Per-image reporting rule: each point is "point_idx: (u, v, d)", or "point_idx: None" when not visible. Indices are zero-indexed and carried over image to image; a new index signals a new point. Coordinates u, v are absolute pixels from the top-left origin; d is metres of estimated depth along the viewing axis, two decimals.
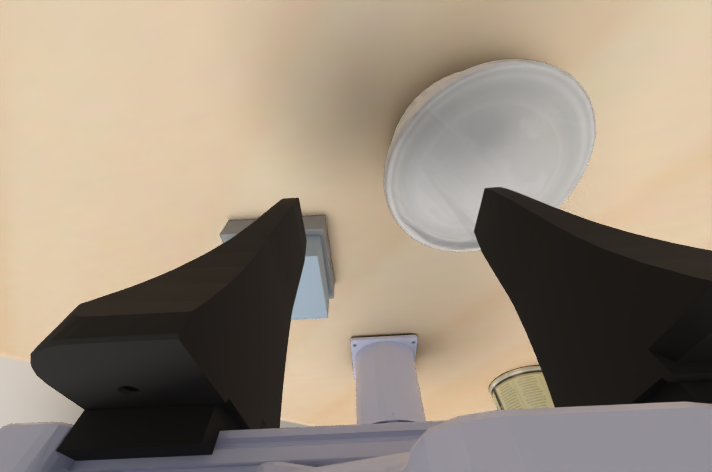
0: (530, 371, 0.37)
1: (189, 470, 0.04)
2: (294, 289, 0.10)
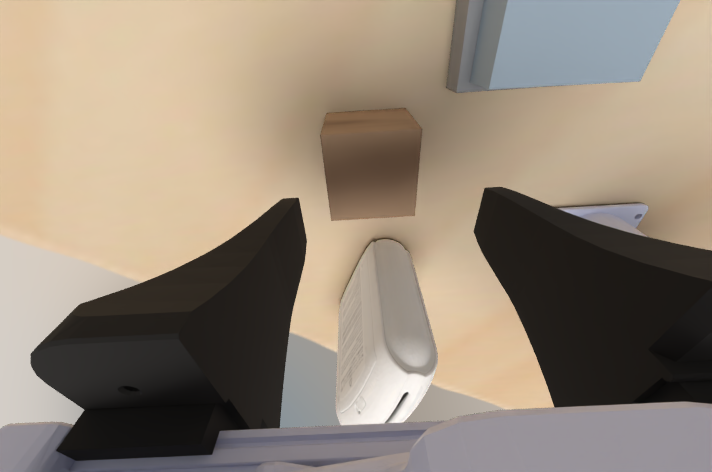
0: None
1: (189, 470, 0.04)
2: (294, 289, 0.10)
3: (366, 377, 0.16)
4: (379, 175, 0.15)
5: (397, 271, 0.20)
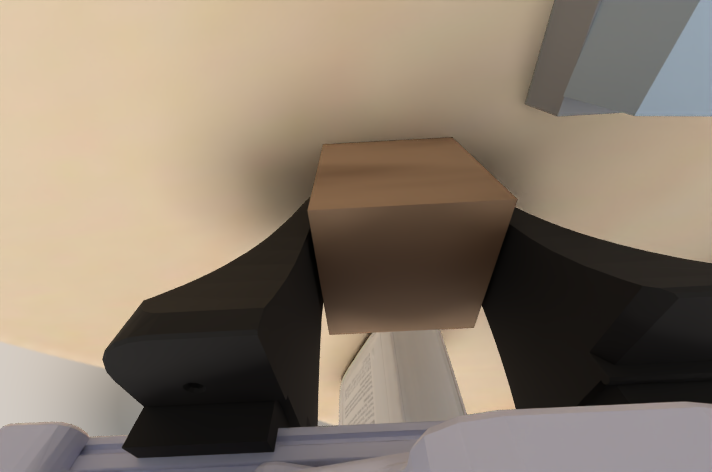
0: None
1: (189, 470, 0.04)
2: None
3: None
4: (421, 273, 0.08)
5: (430, 378, 0.13)
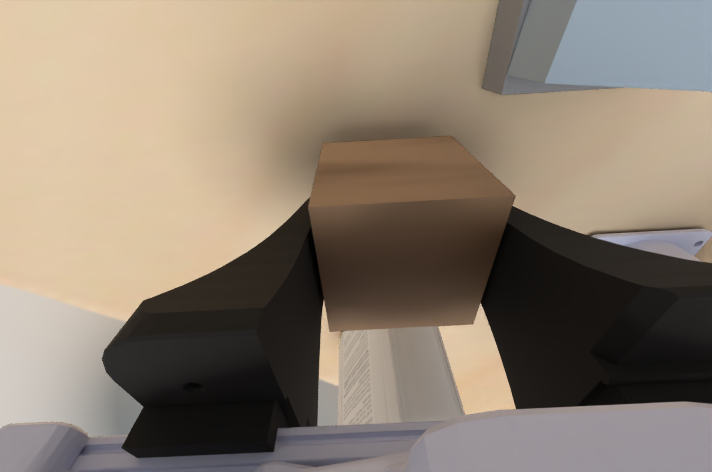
0: None
1: (189, 470, 0.04)
2: None
3: None
4: (420, 269, 0.08)
5: None
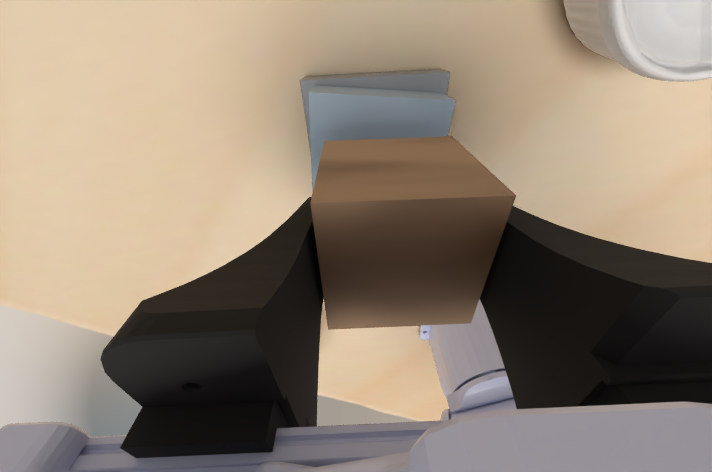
0: None
1: (189, 470, 0.04)
2: None
3: None
4: (420, 268, 0.08)
5: None
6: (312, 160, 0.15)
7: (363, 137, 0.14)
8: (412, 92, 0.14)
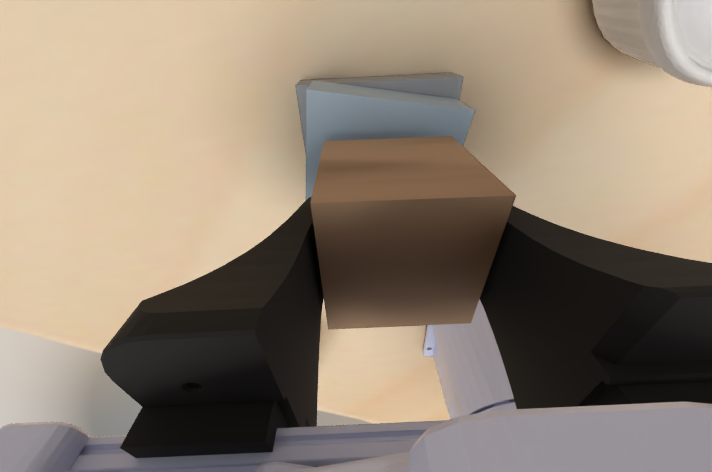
0: None
1: (189, 470, 0.04)
2: (322, 288, 0.09)
3: None
4: (420, 268, 0.08)
5: None
6: (307, 167, 0.13)
7: None
8: (424, 96, 0.13)
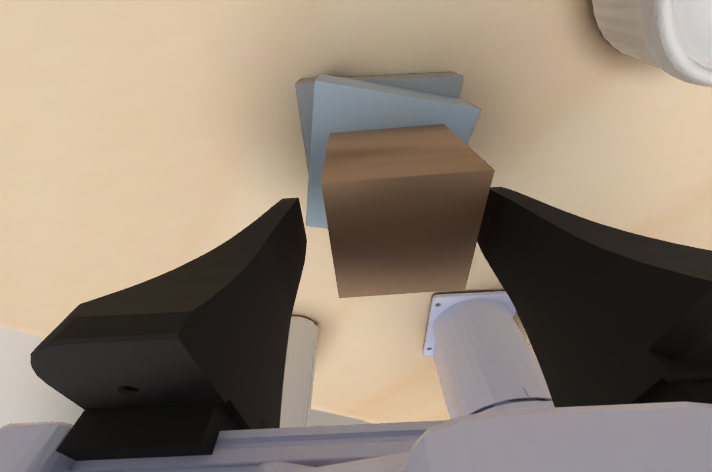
0: None
1: (189, 470, 0.04)
2: (294, 289, 0.10)
3: None
4: (416, 238, 0.09)
5: (293, 355, 0.23)
6: (311, 159, 0.13)
7: None
8: (430, 95, 0.13)
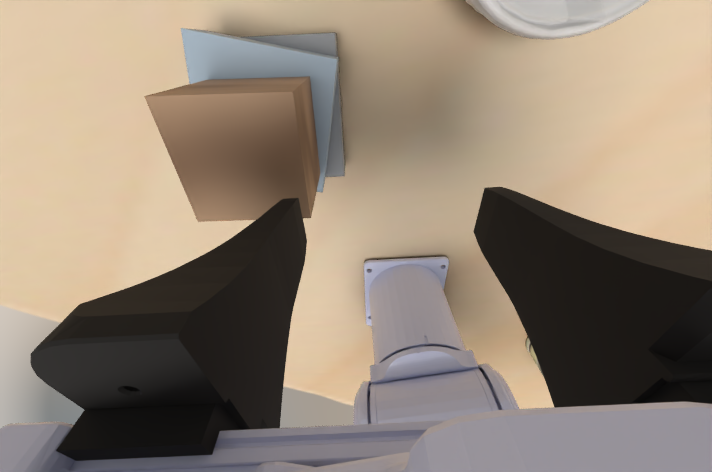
0: None
1: (189, 470, 0.04)
2: (294, 289, 0.10)
3: None
4: (248, 159, 0.10)
5: None
6: None
7: None
8: (305, 51, 0.14)
